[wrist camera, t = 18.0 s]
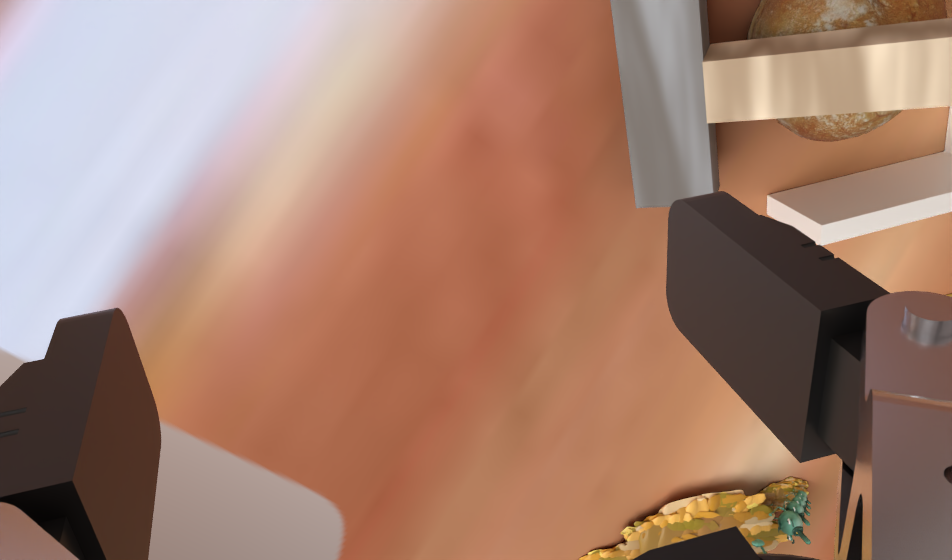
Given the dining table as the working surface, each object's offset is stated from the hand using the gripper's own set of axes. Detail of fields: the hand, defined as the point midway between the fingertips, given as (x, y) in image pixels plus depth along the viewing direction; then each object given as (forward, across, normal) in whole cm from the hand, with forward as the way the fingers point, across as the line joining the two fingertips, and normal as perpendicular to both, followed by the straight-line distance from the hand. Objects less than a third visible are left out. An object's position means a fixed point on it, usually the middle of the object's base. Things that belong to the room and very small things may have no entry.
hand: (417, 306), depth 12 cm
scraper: (+28, -16, +7) cm, 33 cm away
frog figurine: (+28, -20, +39) cm, 52 cm away
